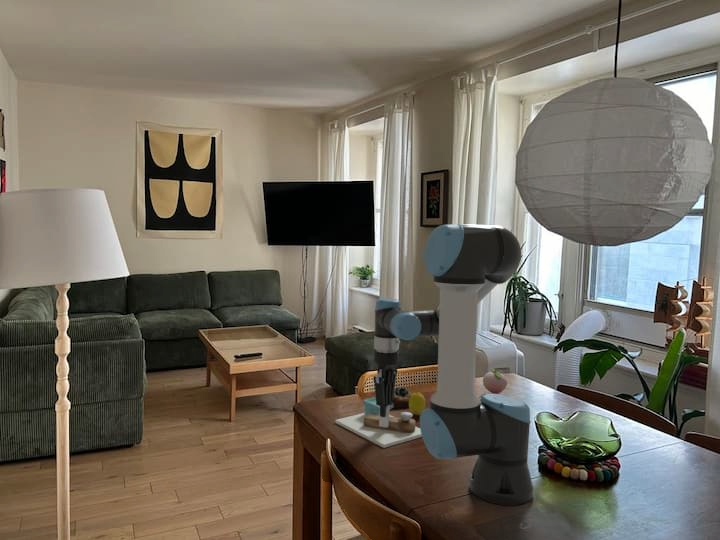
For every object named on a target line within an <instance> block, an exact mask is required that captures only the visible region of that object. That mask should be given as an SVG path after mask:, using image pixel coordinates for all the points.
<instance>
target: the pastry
mask: <svg viewBox="0 0 720 540" xmlns="http://www.w3.org/2000/svg"><path fill="white" fill-rule="evenodd" d="M413 393H414V392H412V391H409V390H408V389H406V388H405V387H396V388H394V396H393V401H391V402H392V403H393V409H392V410H395V409H394V408H399V409H404V407H405V408H409V399H410V397H411V395H412V394H413Z"/></svg>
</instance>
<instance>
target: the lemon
mask: <svg viewBox="0 0 720 540" xmlns="http://www.w3.org/2000/svg"><path fill="white" fill-rule="evenodd" d="M412 393H413V394H412V395H411V397H410V399H409V407H408V408H409V410H410V411H411V412H412V414H414V415H416V416H418V415H419V414H421V413H422V411H423V410H424V409H426V397H424V395H423V394H422V393H421V392H419V391H415V392H412Z"/></svg>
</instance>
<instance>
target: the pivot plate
mask: <svg viewBox="0 0 720 540" xmlns="http://www.w3.org/2000/svg"><path fill="white" fill-rule="evenodd" d="M365 416H366V415H365V412H362V413H358V414H354V415H349V416H346V417H343V418H339V419H335V424H338V425H339V426H341V427H342V428H345V429H346V430H348V431H351V432H352V433H354V434H356V435H358V436H360V437H362V438H364V439H365V440H368V441H370V442H371V443H373V444H375V445H378V446H379V447H381V448H383V449H385V448H389V447H392V446H396V445H399V444H402V443H405V442H408V441H409V442H410V441H413V440H416V439H420V438H422V434H421V430H420V427H418V426H416V425H415V431H413V432H401V431H399V430H392V429H385V428H377V427H370V426H364V417H365ZM389 417H394V416H393V415H391V414H389ZM400 418H403V420H404V421H409V420H410V418H411V419H412V418H413V412H412V413H411V412H409V411H408V412H407V411H404V412H403V411H402V412H400Z"/></svg>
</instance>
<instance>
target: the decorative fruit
mask: <svg viewBox="0 0 720 540" xmlns="http://www.w3.org/2000/svg"><path fill="white" fill-rule="evenodd" d="M498 371H499V370H497V369H496V368H495V369H490V371H489V372H487V373H485V374H484V376H483V378H482V384H483V387H484V389H486V390H487V391H488V392H490V394H500V393H502V392H504V391H505V389H506V387H507V385H508V379H507V378H506V376H505V375H503V374H502V373H500V372H498Z"/></svg>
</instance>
